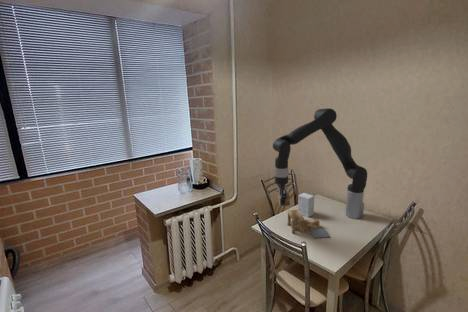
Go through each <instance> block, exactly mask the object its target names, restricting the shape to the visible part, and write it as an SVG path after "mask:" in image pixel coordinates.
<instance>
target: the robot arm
mask: <svg viewBox="0 0 468 312" xmlns="http://www.w3.org/2000/svg"><path fill="white" fill-rule="evenodd" d="M313 118H314V119H313V120H312V121H310V122H307V123H305V124H302V125H300V126H298V127H297V128H295V129H294V130H292V131H291V132H289V133H288V134H287V133H286V134H285V135H282V136H280V137H278V138H276V139H275V140H274V141H273V143H272V149H273V150H274V151H275V152H278V155H277V156H276V157H275V160H274V184H276V188H277V189H276V191H277V194H278V193H279V195H280V196H281V205H285V199H286V193H288V191H287V188H286V187H287V186H286V185H288V184H289V158H290V155H291V154H290V153H291V145H294V146H295V145H297V144H298V143H300V142H302V141H303V140H304V139H306V138H308V137H309V136H311V135H312V134H315V133H316V132H318V131H319V130H321V132H322V133H323V134H324V136H325V138H326V139H327V141H328V142H329V145H330V147H331V148H332V150H333V152H334V153H335V155H336V156H337V158H338V159H339V161H340V163H341V164H342V166H343V169H344V172H345V174H346V176H347V177H348V178H349V179H351V180H352V181H351V184H348V185H347V188H346V189H347V193H346V205H345V206H346V207H345V216H346V217H347V218H351V219H354V220H355V219H356V220H358V219H361V218H363V217H364V210H365V202H364V196H365V195H364V192H365V189H366V186H367V180H368V171H367V169H366V168H365V167H363V166H361V165H359V164H358V163H356V162H355V160H354V158H353V156H352V147H351V145H350V143H349V141H348V140H347V138H346V137H345V135H344V134H343V133H342V132H341V131H339V130H338V129H336V127H335V126H334V125H333V123H335V122H336V119H337V112H336V110H335V109H333V108H320V109H317V110H316V111H315V112H314V114H313ZM281 193H282V194H281ZM283 196H284V197H283Z"/></svg>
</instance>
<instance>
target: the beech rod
mask: <svg viewBox="0 0 468 312" xmlns="http://www.w3.org/2000/svg"><path fill="white" fill-rule="evenodd" d="M320 223H321V222H320V220H319V219H318V218H309V219H304V230H309V229H315V228H320ZM300 226H301V221H295V231H300ZM290 227H291V229H292V220H291V225H290Z"/></svg>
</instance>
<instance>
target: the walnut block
mask: <svg viewBox="0 0 468 312" xmlns="http://www.w3.org/2000/svg"><path fill="white" fill-rule="evenodd" d="M281 194H282V193H281ZM283 197H284V196H283ZM290 198H291V196H290V194H289V193H288V192H287V193H286V199H285V205H281V196H280V195H279V193H278V192H277V203H278V205H279V207H284V206H285V207H289V206H291V205H290V204H291V199H290Z"/></svg>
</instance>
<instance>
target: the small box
mask: <svg viewBox="0 0 468 312" xmlns="http://www.w3.org/2000/svg"><path fill="white" fill-rule="evenodd" d="M297 200H298V205H297V210H299V211H300V213H301V214H302V216H303V217H307V218H309V217H311V216H313V215H315V214H314V213H315V196H314V195H313V194H309V193H306V192H303V193H300V194H298V199H297Z"/></svg>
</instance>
